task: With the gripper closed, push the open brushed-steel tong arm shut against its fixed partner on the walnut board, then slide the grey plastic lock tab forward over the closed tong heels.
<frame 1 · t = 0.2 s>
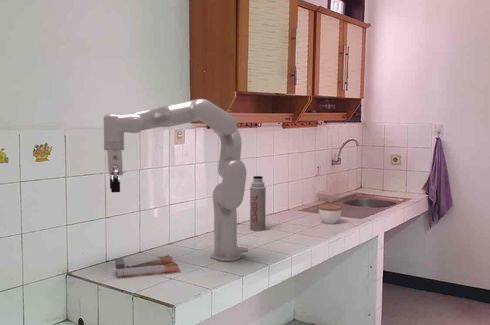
hand: (114, 190, 194), 31 cm above the counter, fingers open, 9 cm apart
lidded bowl: (329, 222, 279), on the counter
tongs fixed: (150, 274, 188), resting on walnut board
thermos bottle: (257, 229, 262), on the counter
walnut board: (147, 272, 190), on the counter
tong arm: (149, 263, 193), point 3 cm above the counter, hinge at 25.0°
lock tab: (119, 263, 184), point 5 cm above the counter, slide at 0.0 cm
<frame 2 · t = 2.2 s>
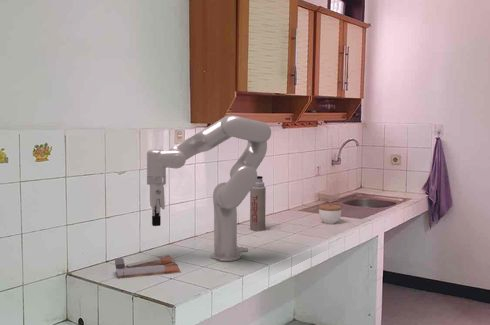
hand: (156, 225, 202), 15 cm above the counter, fingers closed
nothing on the counter moved.
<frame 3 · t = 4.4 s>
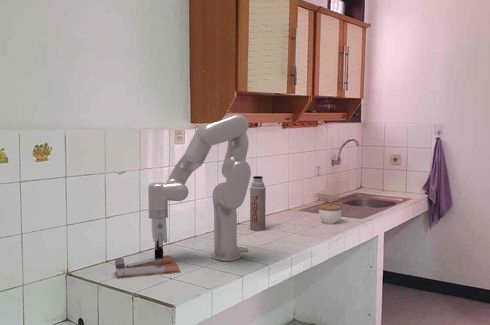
hand: (159, 258, 200), 2 cm above the counter, fingers closed
tong arm: (149, 263, 193), point 3 cm above the counter, hinge at 25.0°, touching gripper
everything else where it was.
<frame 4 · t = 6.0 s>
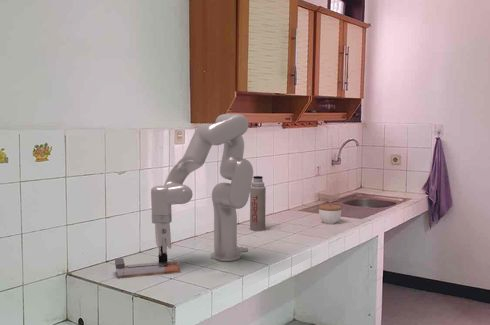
hand: (163, 264, 193), 2 cm above the counter, fingers closed
tong arm: (153, 266, 189), point 3 cm above the counter, hinge at -1.2°, touching gripper, tongs fixed
everything else where it was.
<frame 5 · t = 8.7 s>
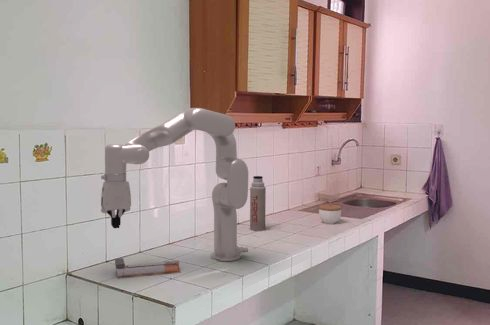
hand: (115, 227, 184), 18 cm above the counter, fingers closed
tong arm: (153, 266, 189), point 3 cm above the counter, hinge at -1.2°, touching tongs fixed
everything else where it was.
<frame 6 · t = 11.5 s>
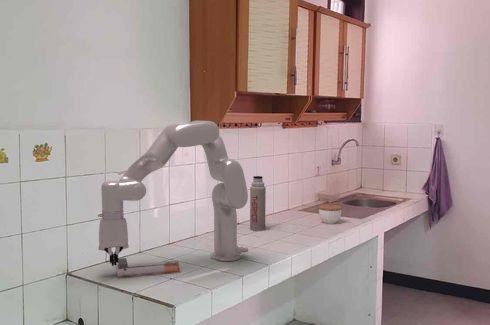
hand: (114, 264, 183), 5 cm above the counter, fingers closed
lock tab: (122, 263, 184), point 5 cm above the counter, slide at 1.1 cm, touching gripper
everything else where it was.
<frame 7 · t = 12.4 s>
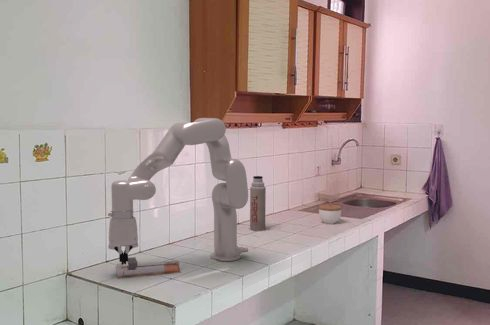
hand: (123, 263, 184), 5 cm above the counter, fingers closed
lock tab: (132, 262, 185), point 5 cm above the counter, slide at 4.5 cm, touching gripper
everything else where it was.
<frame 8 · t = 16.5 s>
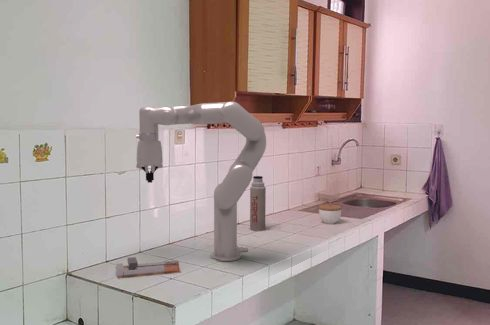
hand: (149, 182, 205), 32 cm above the counter, fingers closed
lock tab: (132, 262, 185), point 5 cm above the counter, slide at 4.6 cm
everything else where it was.
at the end: tong arm at -1° (first picture: +25°); lock tab slide at 4.6 cm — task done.
